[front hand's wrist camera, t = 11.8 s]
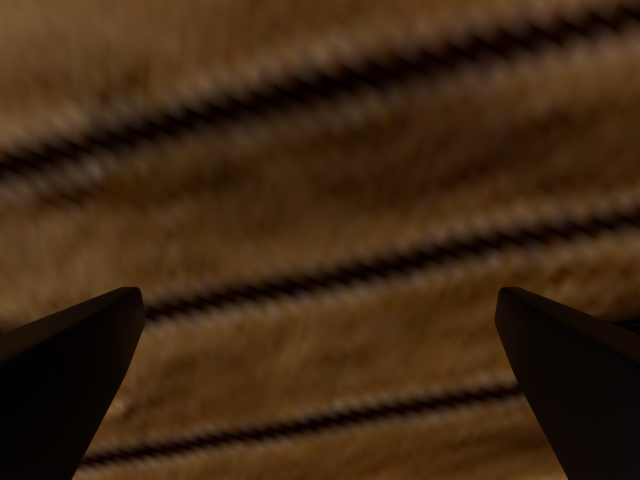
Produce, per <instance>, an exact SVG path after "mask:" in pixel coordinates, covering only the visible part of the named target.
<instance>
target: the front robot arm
mask: <svg viewBox="0 0 640 480" xmlns="http://www.w3.org/2000/svg"><path fill="white" fill-rule="evenodd" d="M144 325H145V312H144V306H143V300H142V294H141V291H140V289H139V288H138V287H121V288H118V289H115V290H113V291H110V292H108V293H105V294H103V295H100V296H98V297H95V298H92V299H90V300H87V301H85V302H82V303H80V304H77V305H75V306H72V307H69V308H67V309H64V310H62V311H59V312H57V313H54V314H52V315H49V316H46V317H44V318H41V319H39V320H36V321H34V322H31V323H29V324H26V325H23V326H21V327H18V328H16V329H13V330H11V331H8V332H6V333H3V334H0V480H72V478H73V476H74V474H75V472H76V470H77V468H78V466H79V464H80V462H81V460H82V458H83V457H84V455H85V453H86V451H87V449H88V447H89V445H90V443H91V441H92V439H93V437H94V435H95V433H96V432H97V430H98V428H99V426H100V424H101V422H102V420H103V418H104V416H105V414H106V412H107V410H108V408H109V407H110V405H111V403H112V401H113V399H114V397H115V395H116V393H117V391H118V389H119V387H120V385H121V383H122V381H123V379H124V377H125V375H126V373H127V370H128V368H129V365H130V363H131V360H132V357H133V355H134V352H135V349H136V347H137V344H138V341H139V339H140V336H141V333H142V331H143V328H144ZM495 325H496V328H497V331H498V333H499V336H500V339H501V341H502V344H503V347H504V349H505V352H506V355H507V357H508V360H509V363H510V365H511V368H512V370H513V373H514V375H515V377H516V379H517V381H518V383H519V385H520V387H521V389H522V391H523V393H524V395H525V397H526V399H527V401H528V403H529V405H530V406H531V408H532V410H533V412H534V414H535V416H536V418H537V420H538V422H539V424H540V426H541V428H542V430H543V432H544V433H545V435H546V437H547V439H548V441H549V443H550V445H551V447H552V449H553V451H554V453H555V455H556V457H557V458H558V460H559V462H560V464H561V466H562V468H563V470H564V472H565V474H566V476H567V478H568V480H640V319H637V320H632V321H626V322H621V323H615V324H611V323H609V322H606V321H604V320H601V319H599V318H596V317H594V316H591V315H588V314H586V313H583V312H581V311H578V310H576V309H573V308H571V307H568V306H565V305H563V304H560V303H558V302H555V301H553V300H550V299H548V298H545V297H542V296H540V295H537V294H535V293H532V292H530V291H527V290H525V289H522V288H519V287H502V288H501V289H500V291H499V294H498V300H497V306H496V312H495Z"/></svg>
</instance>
